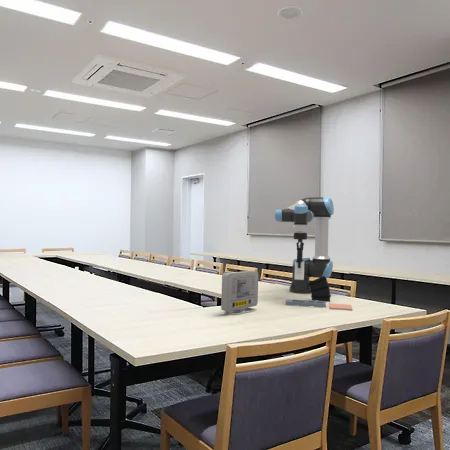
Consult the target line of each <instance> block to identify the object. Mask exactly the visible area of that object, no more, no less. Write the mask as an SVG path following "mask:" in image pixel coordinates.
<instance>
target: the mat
mask: <svg viewBox="0 0 450 450" xmlns="http://www.w3.org/2000/svg"><path fill="white" fill-rule="evenodd" d="M328 303H329V304H328V309H329V310H340V311H353V306H352V304H347V303H346V304H345V303H333V302H331V303H330V302H328Z"/></svg>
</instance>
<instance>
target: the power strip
mask: <svg viewBox="0 0 450 450" xmlns="http://www.w3.org/2000/svg"><path fill="white" fill-rule="evenodd" d="M326 302H327V301H316V300H307V299H305V300H304V299H290V298H288V299H285V303H284V304H285V306H294V305H299V306H298V307H309V306H314V307H313V308H323V307H325V308H326V305H327V304H326Z"/></svg>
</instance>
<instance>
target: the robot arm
mask: <svg viewBox="0 0 450 450" xmlns="http://www.w3.org/2000/svg"><path fill="white" fill-rule="evenodd" d="M334 206H335V205H334V202H333V199H332V198H331V197H329V196H327V197H325V196H323V197H319V196H317V197H315V196H314V197H313V196H312V197H309V196H308V197H304V198H302V199H301V198H300V199H299V200H296V201H294V202H293V204H292V205H290V206H288V207H286V208H284V209H281V208H279V209H276V210H275V212H274V218H275V221H276V222H279V223H293V226H292V228H293V239H294V240H297V242H296V258H294V259H293V261H292V278H291V283H290V285H289V289H288V291H289V292H291V293H294V294H311V292H310V291H311V289H310V286H308V282H311V280H310V278H316V279H318V278H321V277H323V276H325V277H327V279H330V277H331V276H332V272H333V267H334V265H333V264H334V263H333V261H332V260H331V258H330V256H329V220H331V218H332V216H333V215H334V214H335V213H334V212H335V210H334V209H335V208H334ZM313 219H314V221H315V222H314V223H315V225H314V226H315V228H314V256H313V257H312V259H311V258H310V257H304V256H303V254H304V253H303V251H304V245H305V243H304V240H307V239H308V233H307V232H308V223H311V222H312V221H313ZM295 261H296V262H297V274H302V261H304V280H298V279H295Z"/></svg>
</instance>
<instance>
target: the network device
mask: <svg viewBox="0 0 450 450" xmlns="http://www.w3.org/2000/svg"><path fill="white" fill-rule="evenodd" d="M220 297H221V302H220V303H221V305H220V309H221V311H223V313H224V314H226V315H232V316H240V315H245V314H250V313H252V312H256V310H257V309H256V308H253V307H256V306H257V305H258V302H259V301H258V299H259V298H258V297H259V271H257V270H244V271H234V272H223V274H222V276H221V296H220ZM233 312H236V313H233Z"/></svg>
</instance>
